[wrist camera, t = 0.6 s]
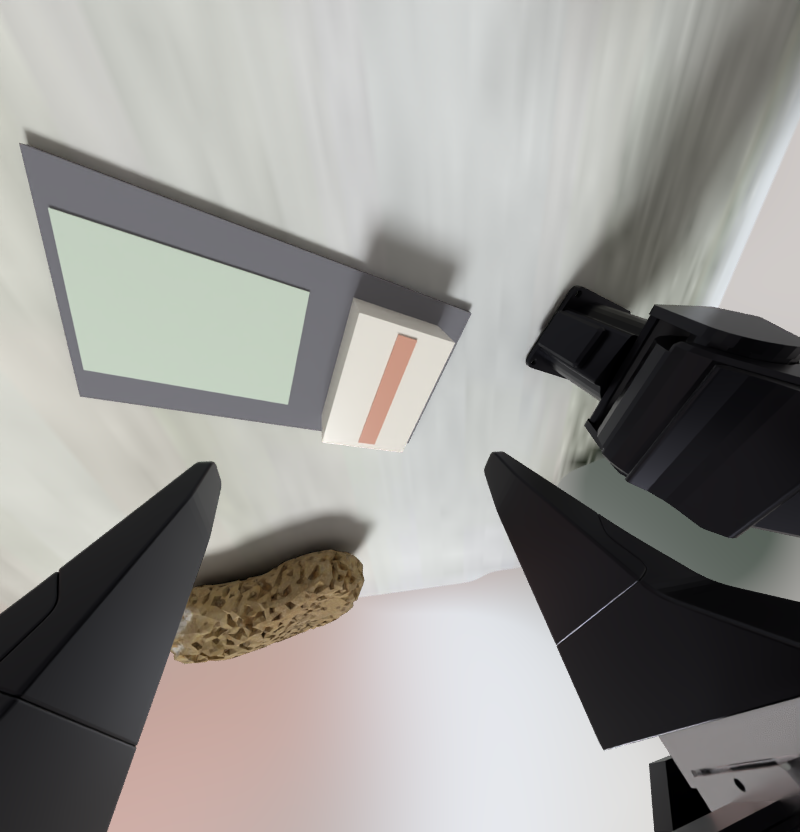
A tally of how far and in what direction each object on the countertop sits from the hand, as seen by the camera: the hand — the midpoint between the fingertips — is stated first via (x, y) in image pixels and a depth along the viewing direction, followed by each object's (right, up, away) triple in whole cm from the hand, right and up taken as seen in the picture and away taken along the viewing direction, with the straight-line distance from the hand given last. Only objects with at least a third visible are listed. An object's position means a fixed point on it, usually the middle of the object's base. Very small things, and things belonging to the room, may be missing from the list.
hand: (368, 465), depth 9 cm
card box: (-1, +5, +11) cm, 12 cm away
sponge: (-14, -17, +25) cm, 33 cm away
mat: (-6, +6, +9) cm, 13 cm away
